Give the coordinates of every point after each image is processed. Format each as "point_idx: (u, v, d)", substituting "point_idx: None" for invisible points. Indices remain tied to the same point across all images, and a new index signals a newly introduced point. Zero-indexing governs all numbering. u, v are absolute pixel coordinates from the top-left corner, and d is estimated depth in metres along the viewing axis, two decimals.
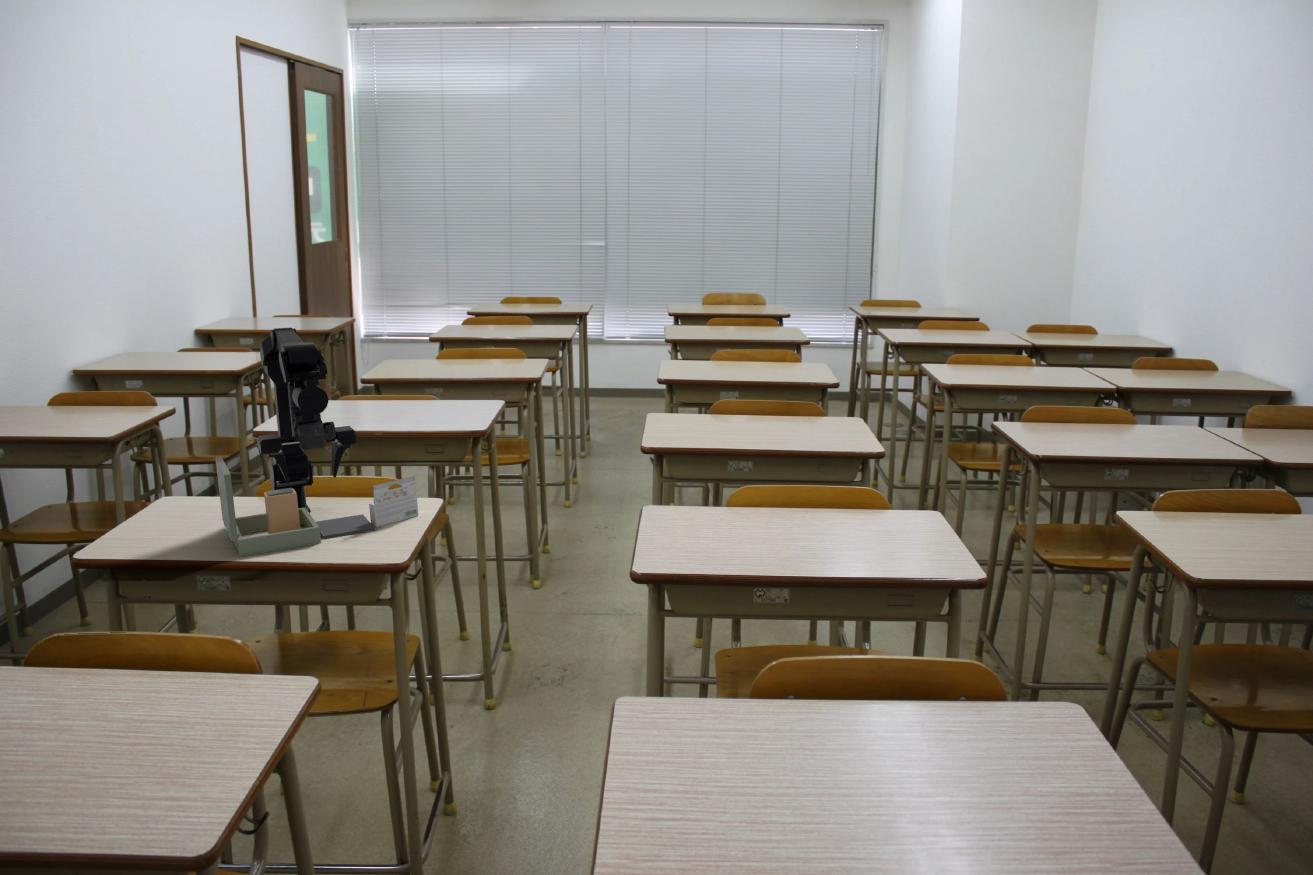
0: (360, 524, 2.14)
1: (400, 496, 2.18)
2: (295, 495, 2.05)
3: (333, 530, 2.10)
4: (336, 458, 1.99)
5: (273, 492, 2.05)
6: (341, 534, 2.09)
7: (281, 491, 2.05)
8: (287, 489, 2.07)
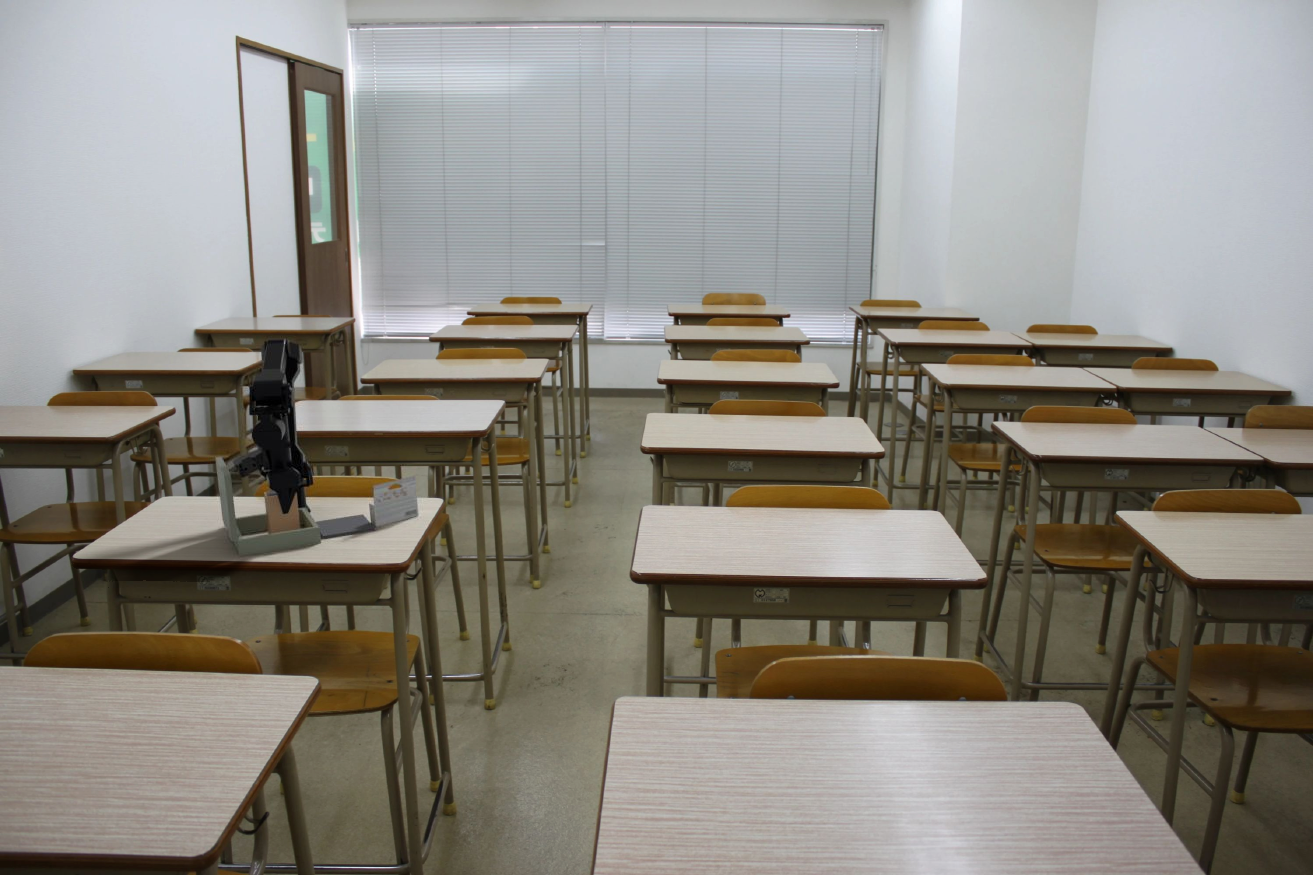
0: (360, 524, 2.14)
1: (400, 496, 2.18)
2: (295, 495, 2.05)
3: (333, 530, 2.10)
4: (277, 495, 2.01)
5: (273, 492, 2.05)
6: (341, 534, 2.09)
7: None
8: None
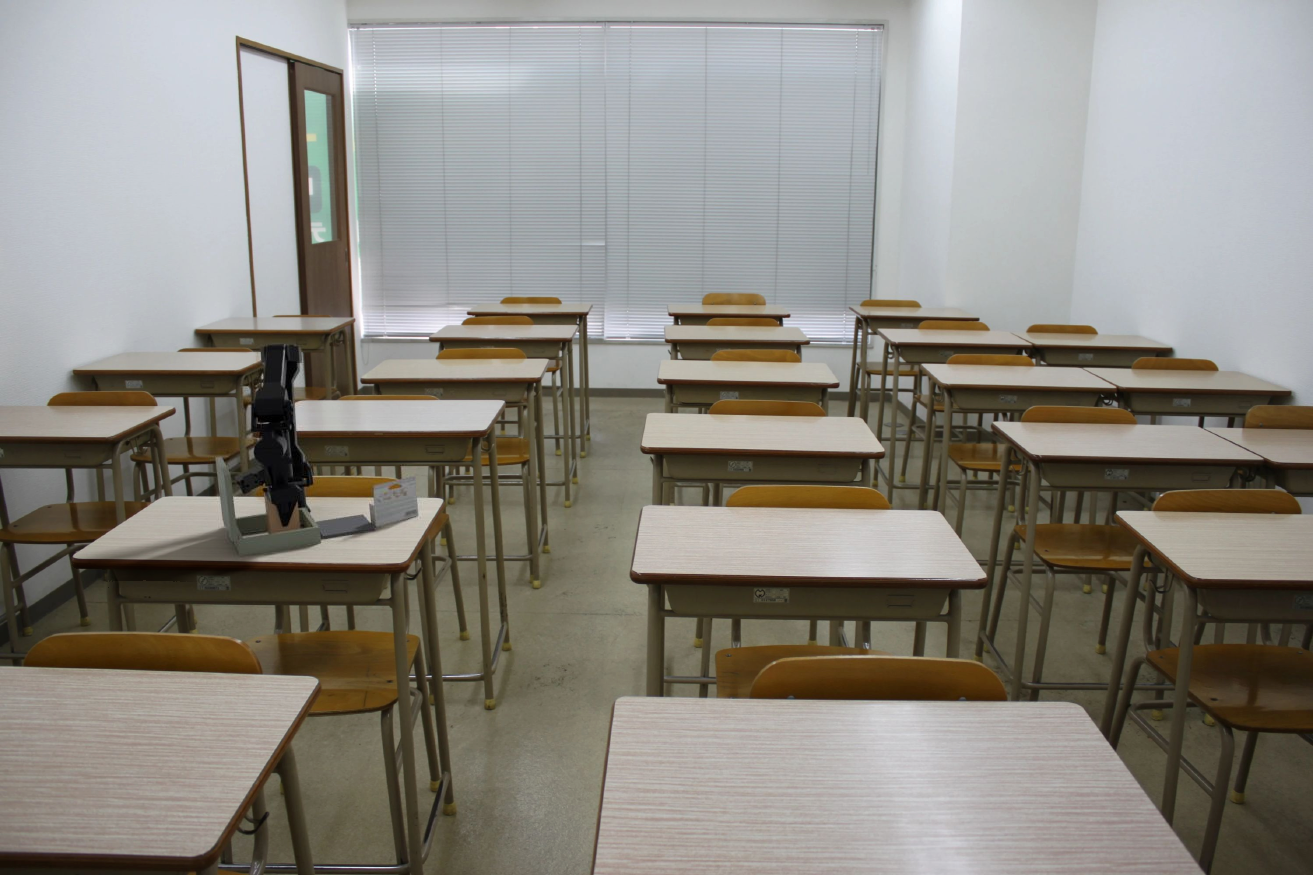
0: (360, 524, 2.14)
1: (400, 496, 2.18)
2: None
3: (333, 530, 2.10)
4: (277, 509, 2.03)
5: None
6: (341, 534, 2.09)
7: None
8: None
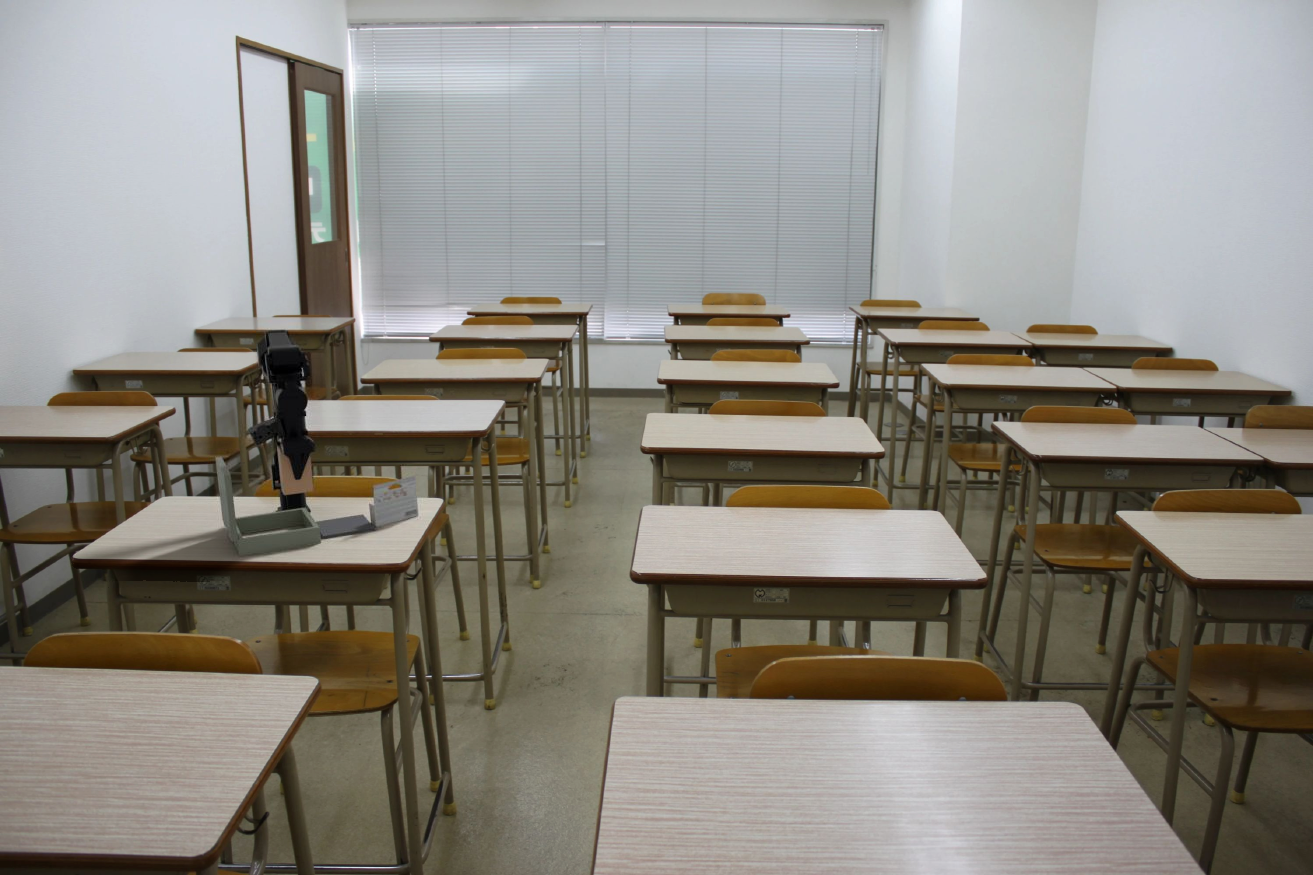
0: (360, 524, 2.14)
1: (400, 496, 2.18)
2: None
3: (333, 530, 2.10)
4: (290, 461, 2.03)
5: None
6: (341, 534, 2.09)
7: None
8: None
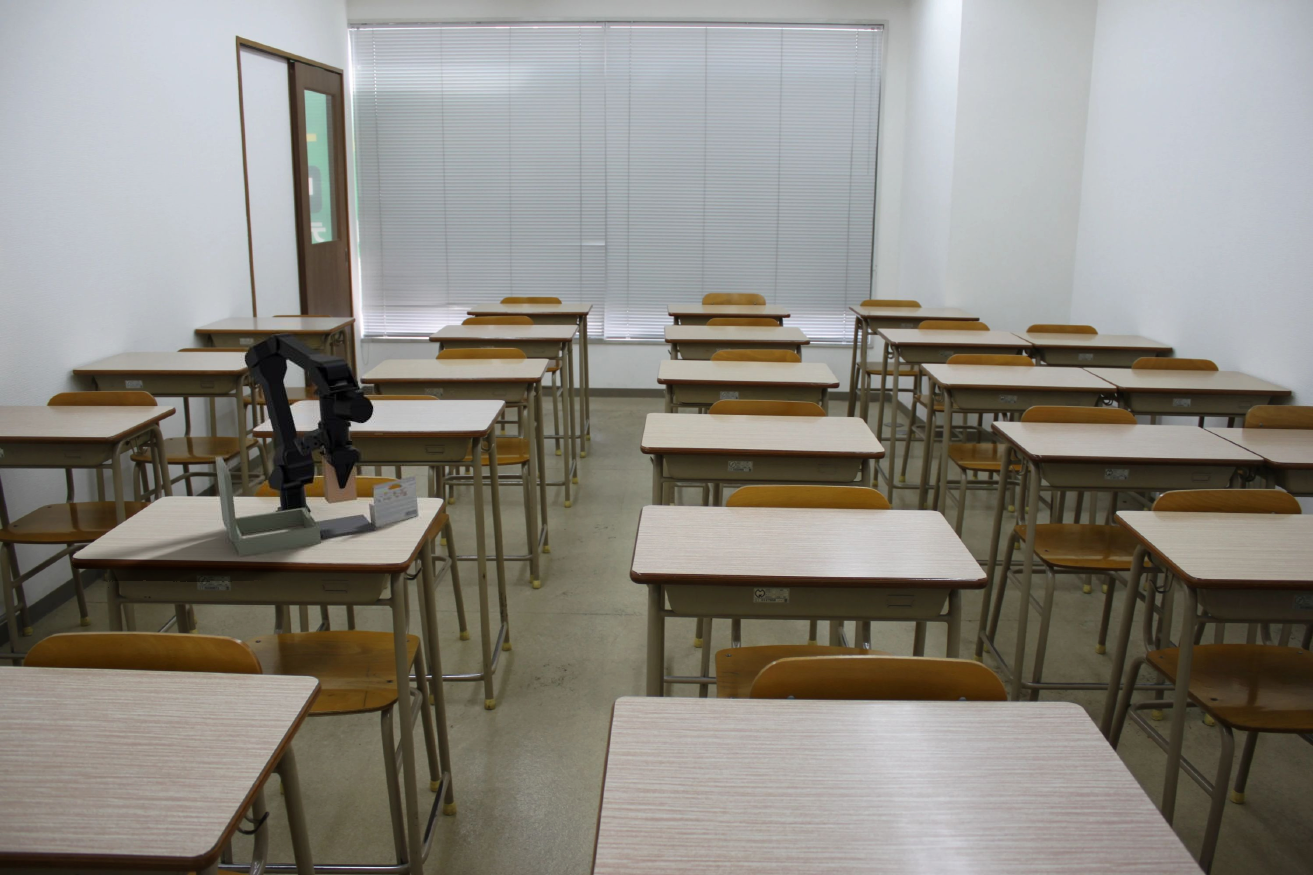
0: (360, 524, 2.14)
1: (400, 496, 2.18)
2: None
3: (333, 530, 2.10)
4: (335, 471, 2.08)
5: None
6: (341, 534, 2.09)
7: None
8: None
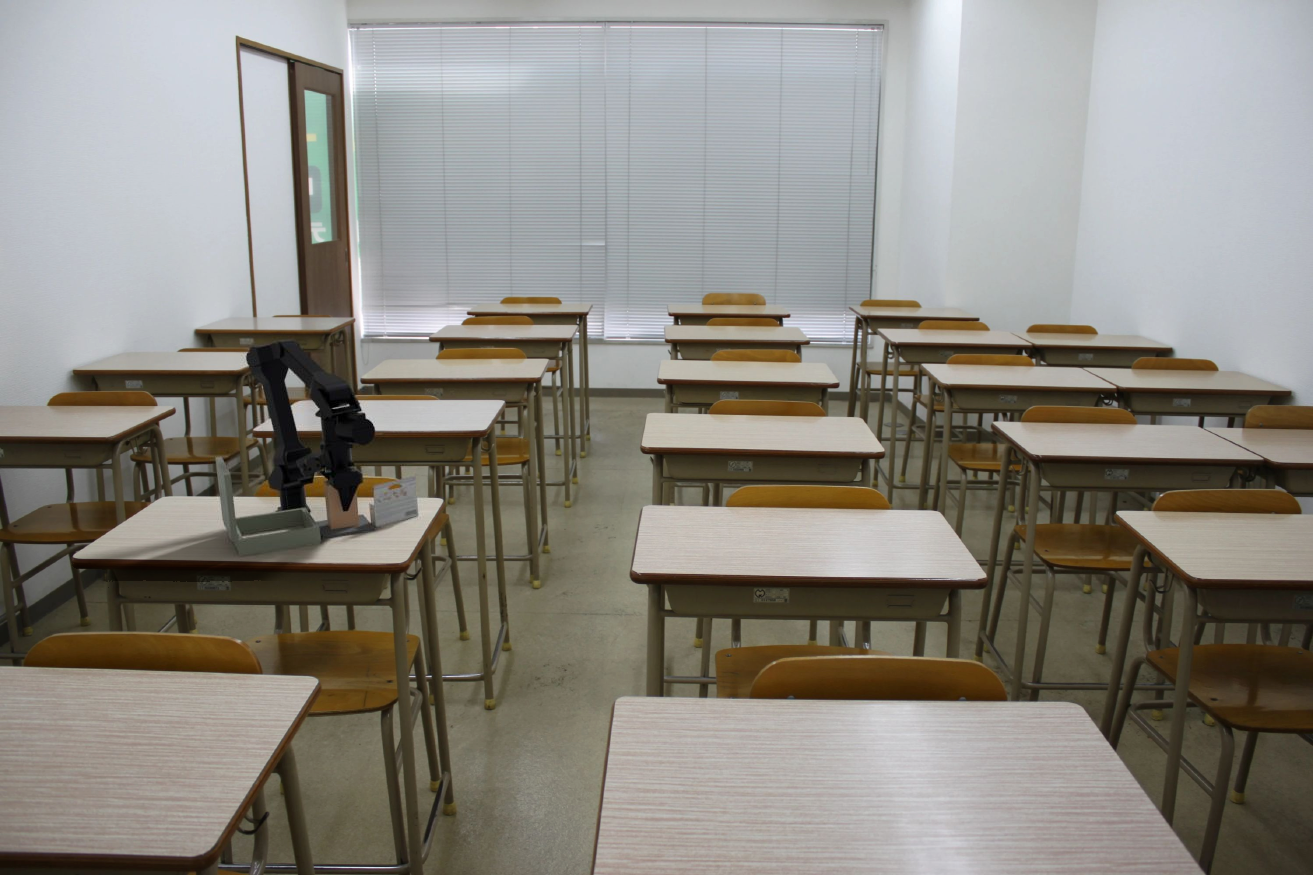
0: (360, 524, 2.14)
1: (400, 496, 2.18)
2: None
3: (333, 530, 2.10)
4: (338, 493, 2.08)
5: None
6: (341, 534, 2.09)
7: None
8: None
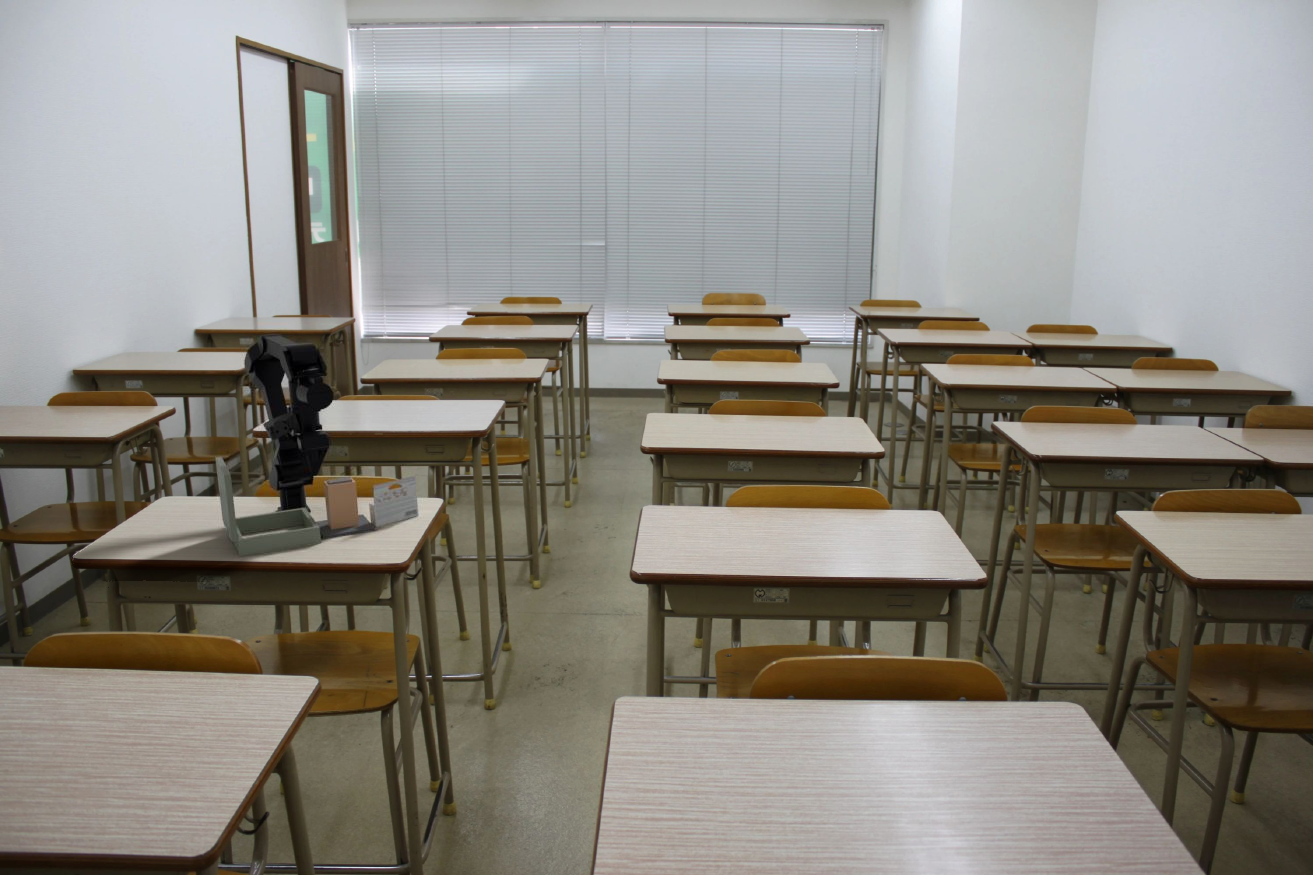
0: (360, 524, 2.14)
1: (400, 496, 2.18)
2: (354, 484, 2.11)
3: (333, 530, 2.10)
4: (307, 458, 2.07)
5: (333, 480, 2.11)
6: (341, 534, 2.09)
7: (341, 480, 2.11)
8: (346, 478, 2.13)
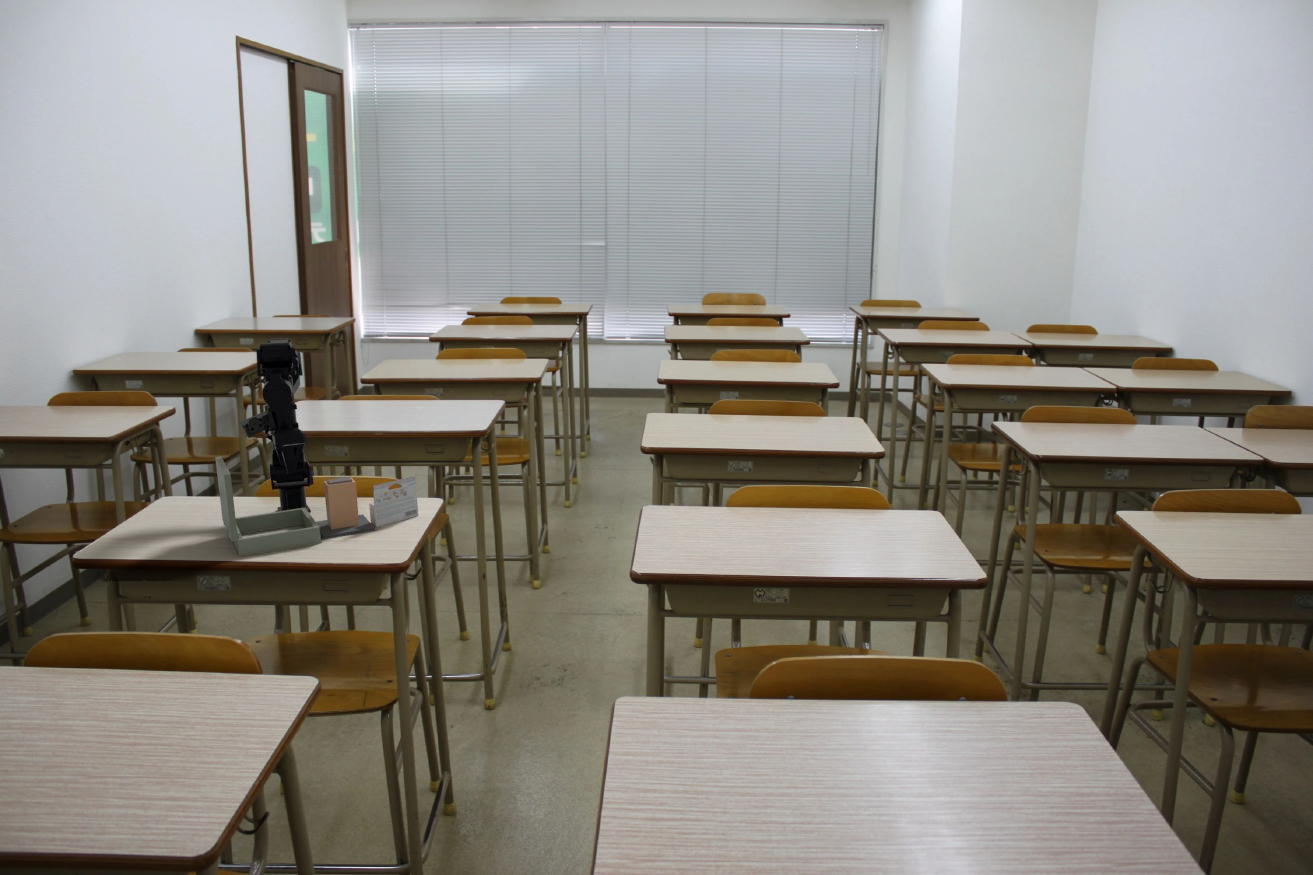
0: (360, 524, 2.14)
1: (400, 496, 2.18)
2: (354, 484, 2.11)
3: (333, 530, 2.10)
4: (282, 455, 2.07)
5: (333, 480, 2.11)
6: (341, 534, 2.09)
7: (341, 480, 2.11)
8: (346, 478, 2.13)
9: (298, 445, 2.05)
